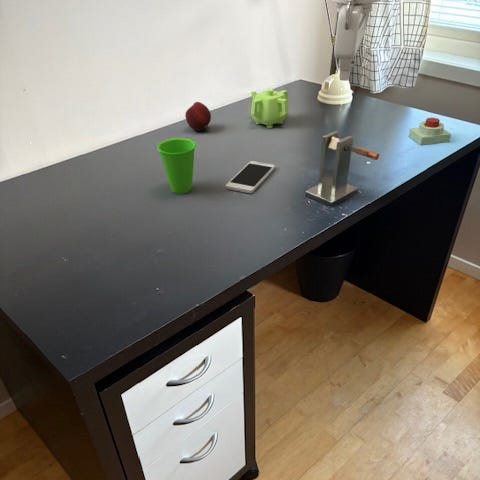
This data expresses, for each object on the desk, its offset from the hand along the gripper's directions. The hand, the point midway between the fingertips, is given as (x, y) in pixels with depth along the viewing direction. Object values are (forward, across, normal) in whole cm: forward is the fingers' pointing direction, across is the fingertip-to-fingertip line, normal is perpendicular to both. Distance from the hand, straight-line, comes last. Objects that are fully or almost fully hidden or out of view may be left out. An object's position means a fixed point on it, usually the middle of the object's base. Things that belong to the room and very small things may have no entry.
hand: (347, 72), depth 95 cm
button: (+23, +41, -21) cm, 52 cm away
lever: (+19, +6, -2) cm, 20 cm away
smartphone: (+27, +4, +22) cm, 35 cm away
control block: (+27, +41, -21) cm, 53 cm away
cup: (+27, -5, +37) cm, 46 cm away
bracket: (+27, +1, +1) cm, 27 cm away
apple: (+27, +33, +46) cm, 63 cm away
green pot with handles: (+27, +43, +27) cm, 58 cm away
